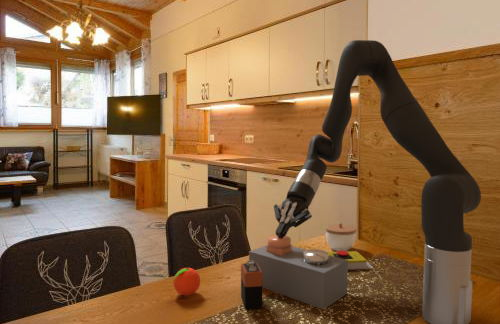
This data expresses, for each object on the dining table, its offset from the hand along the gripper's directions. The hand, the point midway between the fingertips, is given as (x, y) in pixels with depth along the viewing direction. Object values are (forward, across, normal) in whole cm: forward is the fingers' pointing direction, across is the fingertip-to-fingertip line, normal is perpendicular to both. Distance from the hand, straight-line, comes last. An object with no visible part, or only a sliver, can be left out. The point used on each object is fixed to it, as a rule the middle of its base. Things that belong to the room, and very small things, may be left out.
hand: (279, 236), depth 105 cm
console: (+9, +6, +9) cm, 14 cm away
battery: (+20, +3, -1) cm, 20 cm away
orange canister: (+7, 0, +7) cm, 10 cm away
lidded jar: (-18, -2, +37) cm, 41 cm away
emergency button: (-8, +7, +28) cm, 30 cm away
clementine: (+26, -13, -7) cm, 30 cm away
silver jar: (+8, +12, +8) cm, 16 cm away
